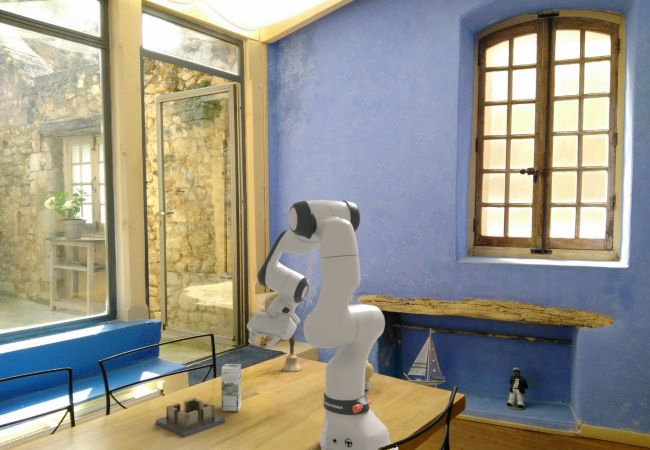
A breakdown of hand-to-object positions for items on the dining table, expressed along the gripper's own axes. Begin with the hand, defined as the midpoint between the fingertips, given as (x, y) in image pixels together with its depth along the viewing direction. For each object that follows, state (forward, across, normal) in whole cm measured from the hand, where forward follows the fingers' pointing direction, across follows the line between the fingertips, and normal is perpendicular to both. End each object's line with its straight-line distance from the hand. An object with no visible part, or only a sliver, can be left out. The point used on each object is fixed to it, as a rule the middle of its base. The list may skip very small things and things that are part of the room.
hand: (259, 344), depth 185 cm
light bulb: (-10, +21, +38) cm, 44 cm away
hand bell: (-10, -17, +38) cm, 42 cm away
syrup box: (+22, 0, +5) cm, 23 cm away
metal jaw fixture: (+34, 0, -6) cm, 34 cm away
